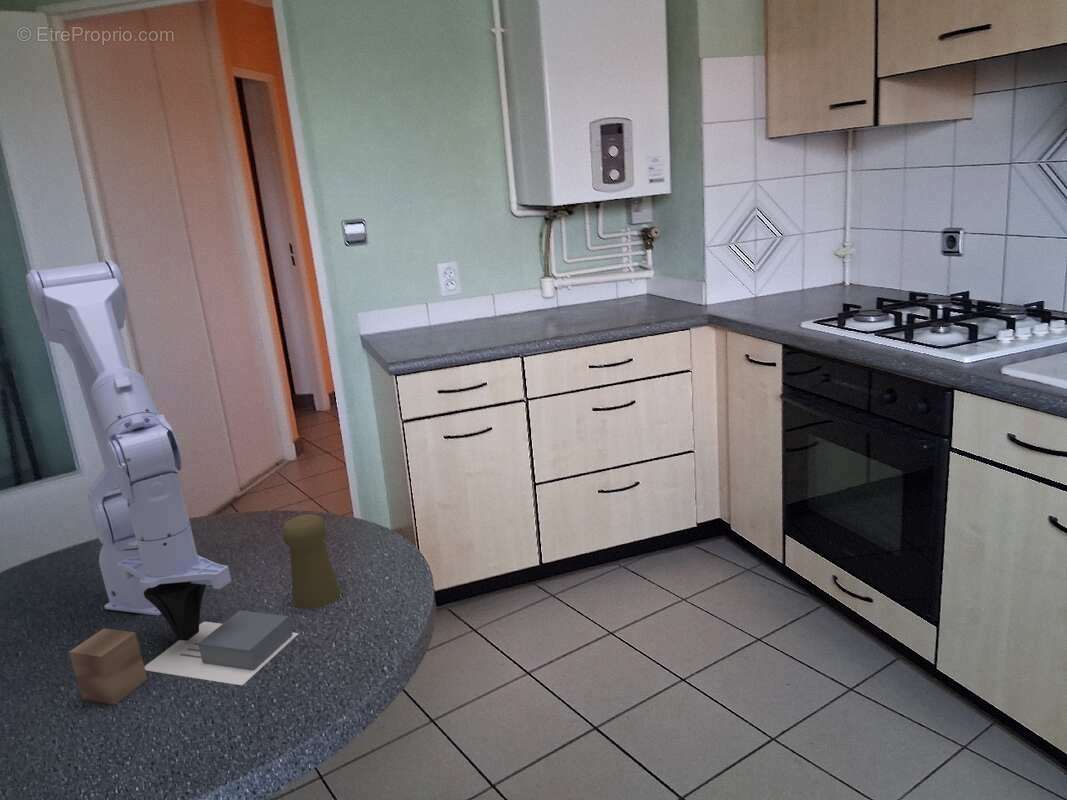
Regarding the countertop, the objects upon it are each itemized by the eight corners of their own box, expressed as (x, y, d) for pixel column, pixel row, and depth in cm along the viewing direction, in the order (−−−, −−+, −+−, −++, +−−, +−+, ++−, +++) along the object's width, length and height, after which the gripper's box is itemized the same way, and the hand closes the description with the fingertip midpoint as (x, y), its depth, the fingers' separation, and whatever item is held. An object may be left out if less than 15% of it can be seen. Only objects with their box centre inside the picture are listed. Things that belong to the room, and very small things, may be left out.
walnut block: (83, 701, 85) (68, 651, 83) (117, 675, 89) (104, 628, 87) (115, 706, 83) (100, 656, 81) (148, 680, 87) (135, 632, 85)
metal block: (202, 663, 89) (198, 643, 88) (244, 628, 95) (239, 610, 94) (253, 670, 86) (249, 650, 86) (292, 635, 93) (288, 616, 92)
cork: (328, 611, 98) (313, 529, 95) (283, 610, 99) (267, 529, 96) (348, 586, 103) (334, 508, 101) (306, 585, 105) (291, 508, 102)
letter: (141, 670, 89) (140, 669, 89) (204, 622, 98) (203, 621, 98) (242, 686, 84) (242, 685, 84) (299, 634, 93) (298, 633, 93)
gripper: (85, 541, 89) (114, 648, 92) (187, 550, 84) (214, 662, 87) (135, 515, 95) (160, 615, 99) (232, 522, 90) (255, 627, 94)
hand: (188, 635), depth 94 cm, fingers closed
